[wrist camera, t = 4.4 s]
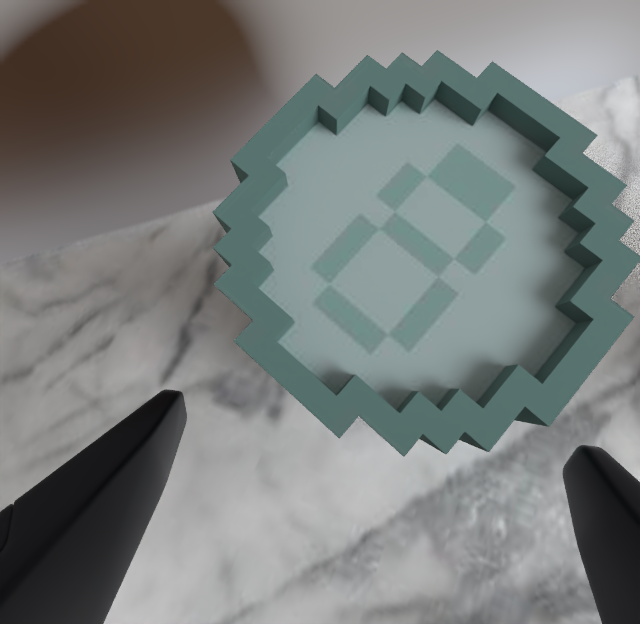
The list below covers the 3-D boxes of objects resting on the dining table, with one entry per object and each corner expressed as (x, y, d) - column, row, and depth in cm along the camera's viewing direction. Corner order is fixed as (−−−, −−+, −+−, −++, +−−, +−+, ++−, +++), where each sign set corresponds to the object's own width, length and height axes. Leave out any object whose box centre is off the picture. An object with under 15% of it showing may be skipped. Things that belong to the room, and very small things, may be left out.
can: (440, 336, 21) (712, 215, 6) (363, 427, 20) (456, 546, 5) (350, 261, 22) (395, -6, 7) (273, 346, 21) (137, 252, 6)
